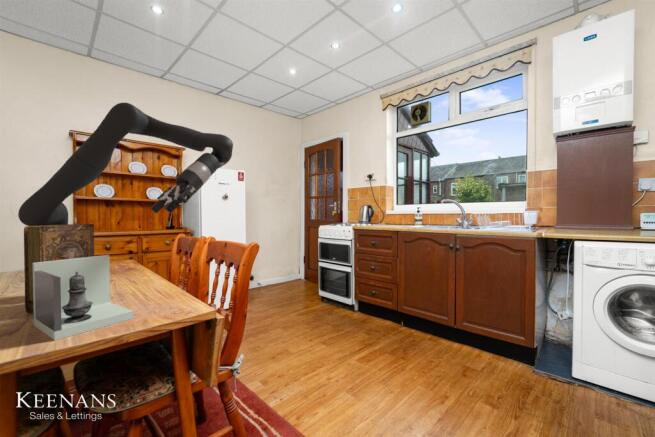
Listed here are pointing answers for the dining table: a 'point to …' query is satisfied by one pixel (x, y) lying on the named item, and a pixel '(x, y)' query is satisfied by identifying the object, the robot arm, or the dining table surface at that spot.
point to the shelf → (55, 295)
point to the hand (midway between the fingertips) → (160, 210)
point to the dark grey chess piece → (77, 301)
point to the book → (54, 249)
